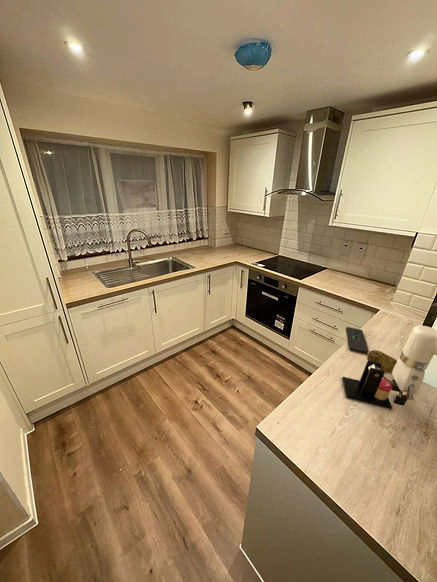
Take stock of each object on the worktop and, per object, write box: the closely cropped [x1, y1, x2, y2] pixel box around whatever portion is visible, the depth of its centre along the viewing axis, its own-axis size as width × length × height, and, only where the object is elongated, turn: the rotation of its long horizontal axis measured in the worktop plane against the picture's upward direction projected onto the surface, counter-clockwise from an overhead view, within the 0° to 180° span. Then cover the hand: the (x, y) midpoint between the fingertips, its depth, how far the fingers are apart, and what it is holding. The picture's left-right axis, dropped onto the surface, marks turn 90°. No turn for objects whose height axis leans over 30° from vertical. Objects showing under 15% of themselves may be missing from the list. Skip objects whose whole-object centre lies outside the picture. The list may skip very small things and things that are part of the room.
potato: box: [366, 349, 398, 373], centre depth 102 cm, size 8×13×8 cm, turn 66°
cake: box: [374, 378, 392, 400], centre depth 88 cm, size 6×6×5 cm
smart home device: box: [345, 326, 369, 355], centre depth 121 cm, size 8×2×20 cm
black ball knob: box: [368, 364, 400, 393], centre depth 86 cm, size 14×3×3 cm
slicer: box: [341, 360, 393, 410], centre depth 88 cm, size 15×10×14 cm, turn 72°
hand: (395, 396), depth 88 cm, fingers open, 6 cm apart
